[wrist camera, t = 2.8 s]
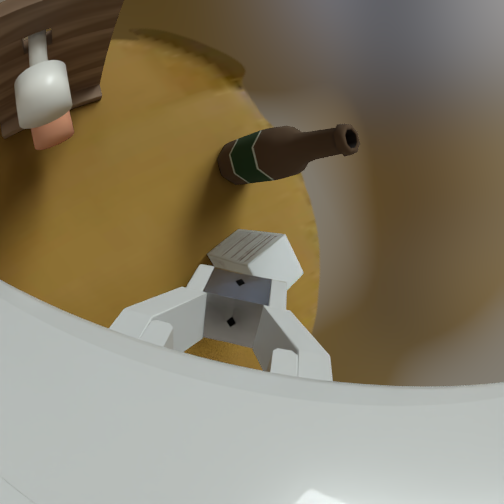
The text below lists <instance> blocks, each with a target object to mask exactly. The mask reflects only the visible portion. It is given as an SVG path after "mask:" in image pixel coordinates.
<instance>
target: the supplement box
mask: <svg viewBox="0 0 504 504" xmlns="http://www.w3.org/2000/svg"><path fill="white" fill-rule="evenodd" d="M207 255H208V257H209V259H210V260H211V262H212V263H213V265H214V266H215V267H217V268H222V269H226V270H230V271H234V272H238V273H243V274H246V275H252V276H257V277H262V278H268V279H273V280H279V281H285V282H286V283H287V290H288V289H289V288H290V287H291V286H292V285H293V284H294V283H295V282H296V281H297V280H298V279H299V278H300V277H301V276H302V274H303V270H302V268H301V266H300V264H299V262H298V260H297V258H296V256H295V254H294V252H293V250H292V247H291V245H290V243H289V241H288V239H287V237H286V235H285V234H278V233H270V232H261V231H252V230H243V229H238V230H237V231H235V232H234V233H233V234H231V235H230V236H229V237H228V238H226V239H225V240H224V241H222V242H221V243H220V244H219V245H217V246H216V247H215V248H214V249H212V250H211V251H210V252H209V253H207Z"/></svg>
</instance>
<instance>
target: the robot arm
mask: <svg viewBox="0 0 504 504" xmlns="http://www.w3.org/2000/svg"><path fill="white" fill-rule="evenodd" d="M286 295H287V283H286V282H285V281H279V280H273V279H268V278H262V277H257V276H252V275H246V274H243V273H238V272H234V271H230V270H226V269H222V268H217V267H214V266H209V265H204V264H200V265H199V266H198V268H197V269H196V271H195V273H194V275H193V276H192V278H191V280H190V281H189V283H188V285H187V286H186V288H185V287H180V288H177V289H175V290H172V291H169V292H167V293H164V294H161V295H159V296H156V297H154V298H151V299H148V300H146V301H143V302H140V303H138V304H135V305H132V306H130V307H127V308H124V310H123V311H122V312H121V313H120V315H119V316H118V317H117V319H116V320H115V321H114V323H113V324H112V325H111V327H110V328H109V329H108V328H106V327H103V326H100V325H98V324H95V323H92V322H90V321H87V320H85V319H82V318H80V317H78V316H75V315H73V314H70V313H68V312H66V311H63V310H61V309H59V308H57V307H54V306H52V305H50V304H48V303H45V302H43V301H41V300H39V299H37V298H35V297H33V296H31V295H29V294H27V293H25V292H23V291H21V290H19V289H17V288H15V287H13V286H11V285H9V284H7V283H6V282H4V281H2V280H0V504H504V382H501V383H491V384H481V385H465V386H439V387H436V386H434V387H415V386H414V387H413V386H384V385H367V384H355V383H344V382H334V381H332V371H331V361H330V355H329V354H328V353H327V352H326V351H325V350H324V349H323V347H322V346H321V345H320V344H319V343H318V342H317V341H316V340H315V338H314V337H313V336H312V335H311V334H310V333H309V332H308V330H307V329H306V328H305V327H304V326H303V325H302V324H301V322H300V321H299V320H298V319H297V318H296V317H295V316H294V314H293V313H292V312H291V311H290V310H286ZM203 337H206V338H210V339H215V340H220V341H224V342H229V343H233V344H237V345H241V346H245V347H250V348H253V351H254V353H255V355H256V357H257V359H258V361H259V363H260V365H261V367H262V369H263V371H261V370H256V369H251V368H246V367H241V366H236V365H232V364H227V363H223V362H218V361H214V360H210V359H206V358H202V357H198V356H194V355H191V354H187V353H183V352H184V351H185V350H187V349H188V348H189V347H191V346H192V345H194V344H195V343H197V342H198V341H199V340H201V339H202V338H203Z"/></svg>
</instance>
